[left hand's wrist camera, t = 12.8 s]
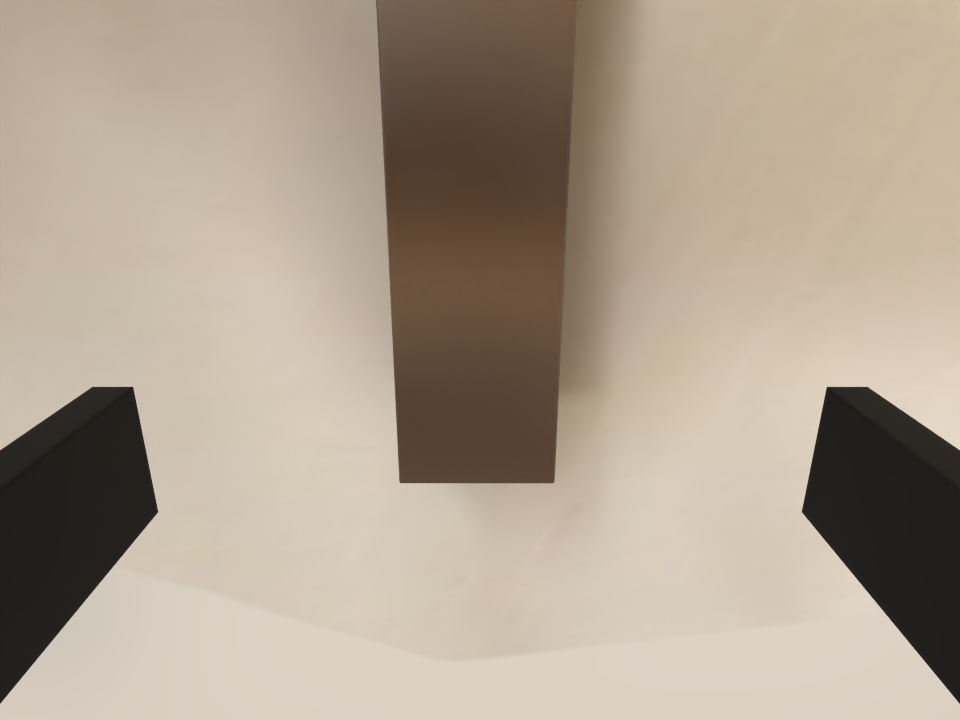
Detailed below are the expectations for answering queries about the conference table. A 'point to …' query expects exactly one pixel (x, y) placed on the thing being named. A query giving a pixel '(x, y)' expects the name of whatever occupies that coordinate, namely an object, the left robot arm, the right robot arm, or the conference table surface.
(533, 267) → the beam
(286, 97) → the conference table surface
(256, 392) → the conference table surface
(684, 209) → the conference table surface
